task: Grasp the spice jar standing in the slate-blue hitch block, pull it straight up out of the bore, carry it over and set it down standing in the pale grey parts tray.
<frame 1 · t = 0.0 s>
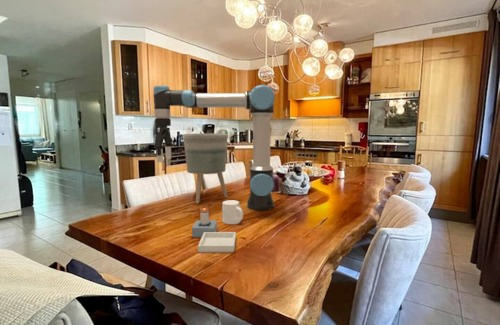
hand: (164, 160, 139), 28 cm above the table, fingers open, 13 cm apart
mug: (232, 222, 132), on the table
tray: (218, 244, 106), on the table
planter: (207, 198, 173), on the table
spice jar: (204, 220, 117), in the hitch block
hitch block: (205, 233, 118), on the table
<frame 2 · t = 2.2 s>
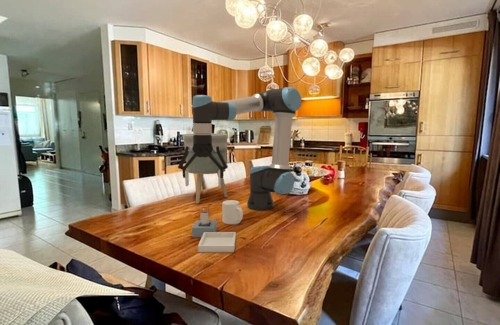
hand: (203, 185, 115), 21 cm above the table, fingers open, 13 cm apart
nothing on the table moved.
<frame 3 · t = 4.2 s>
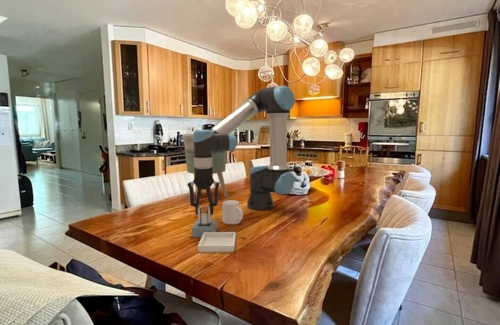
hand: (204, 221, 117), 5 cm above the table, fingers closed on spice jar, 4 cm apart
spice jar: (204, 220, 117), in the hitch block, touching gripper
everything else where it was.
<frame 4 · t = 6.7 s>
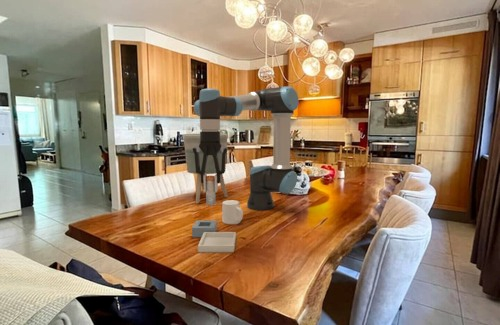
hand: (210, 191, 107), 20 cm above the table, fingers closed on spice jar, 4 cm apart
spice jar: (210, 190, 107), point 21 cm above the table, touching gripper
everything else where it was.
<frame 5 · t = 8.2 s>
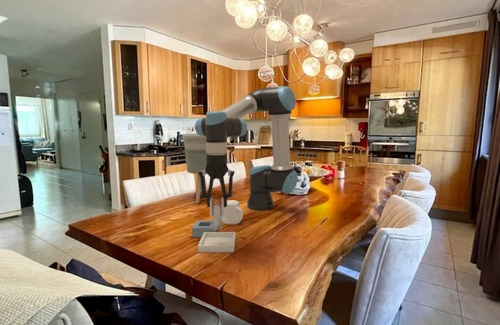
hand: (217, 215, 105), 12 cm above the table, fingers closed on spice jar, 4 cm apart
spice jar: (217, 214, 104), point 12 cm above the table, touching gripper
everything else where it was.
when the fingers open (7 cm above the table, at t = 9.2 s): spice jar moves 1 cm, resting on tray.
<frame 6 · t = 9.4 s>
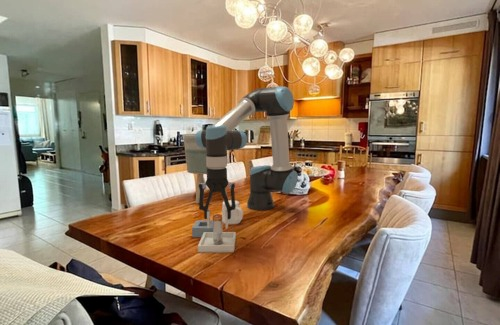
hand: (217, 227, 105), 7 cm above the table, fingers open, 6 cm apart
spice jar: (217, 229, 105), in the tray, point 6 cm above the table
everything else where it was.
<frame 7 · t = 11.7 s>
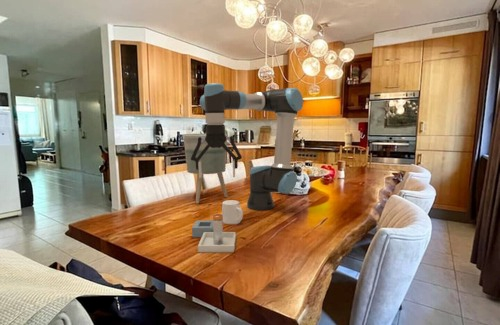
hand: (217, 177, 112), 25 cm above the table, fingers open, 13 cm apart
nothing on the table moved.
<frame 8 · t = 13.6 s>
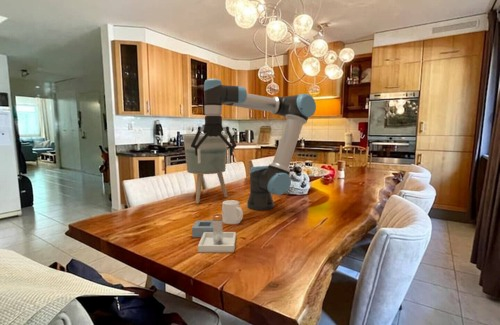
hand: (214, 163, 125), 29 cm above the table, fingers open, 13 cm apart
nothing on the table moved.
at the end: spice jar inside the target area on the tray (0.0 cm from its centre), point 6.1 cm above the tray's base; spice jar touching tray; the gripper is holding nothing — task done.
